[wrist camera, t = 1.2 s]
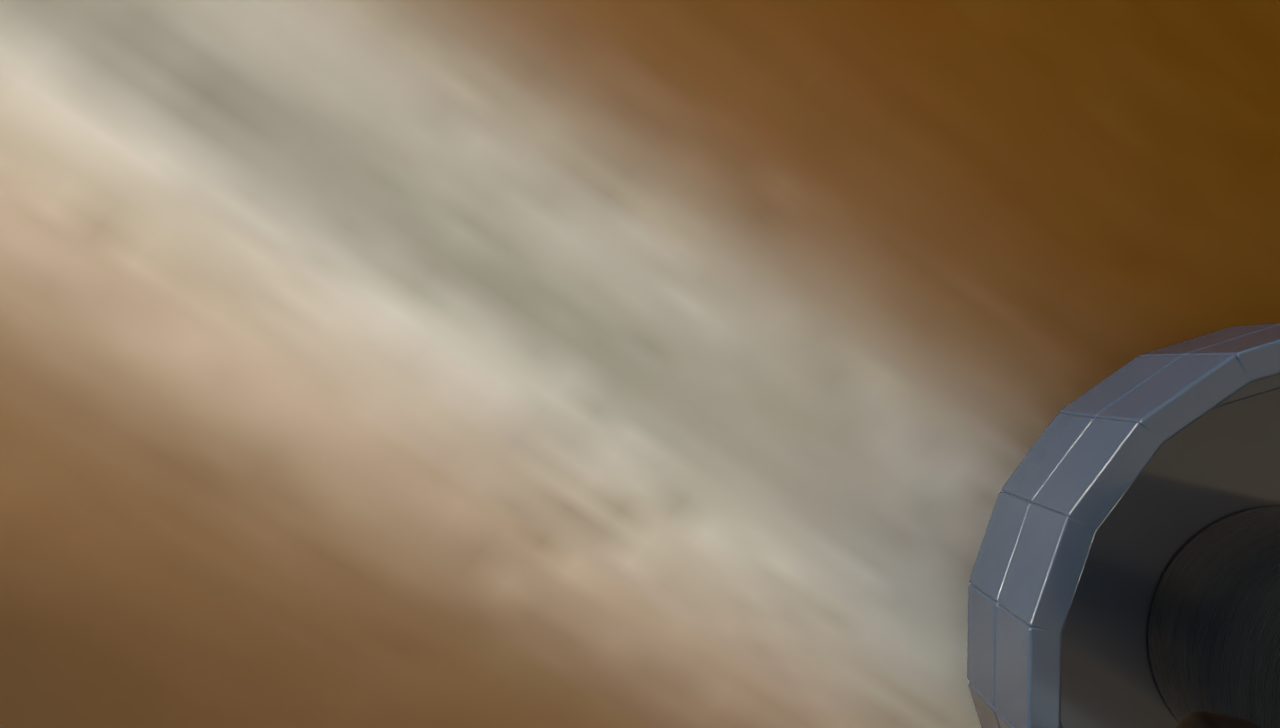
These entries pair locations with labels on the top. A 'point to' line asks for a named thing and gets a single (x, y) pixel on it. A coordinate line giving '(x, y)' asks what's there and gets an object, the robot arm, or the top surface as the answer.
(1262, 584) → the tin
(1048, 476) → the blue bowl
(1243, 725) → the robot arm
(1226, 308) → the top surface
